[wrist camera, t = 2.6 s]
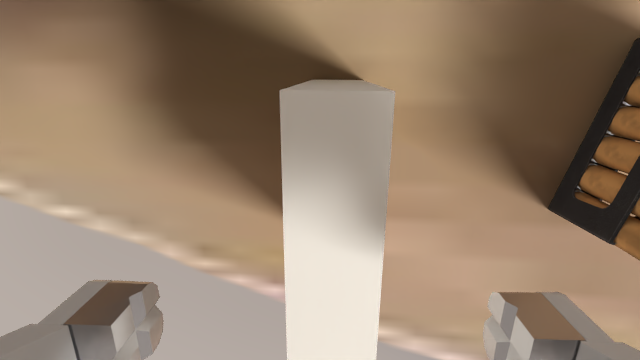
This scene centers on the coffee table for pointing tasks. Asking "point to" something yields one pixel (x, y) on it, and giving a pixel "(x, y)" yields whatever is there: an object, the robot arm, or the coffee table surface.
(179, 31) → the coffee table surface
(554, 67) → the coffee table surface
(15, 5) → the coffee table surface
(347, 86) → the door panel
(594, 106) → the coffee table surface
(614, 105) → the ammunition clip
